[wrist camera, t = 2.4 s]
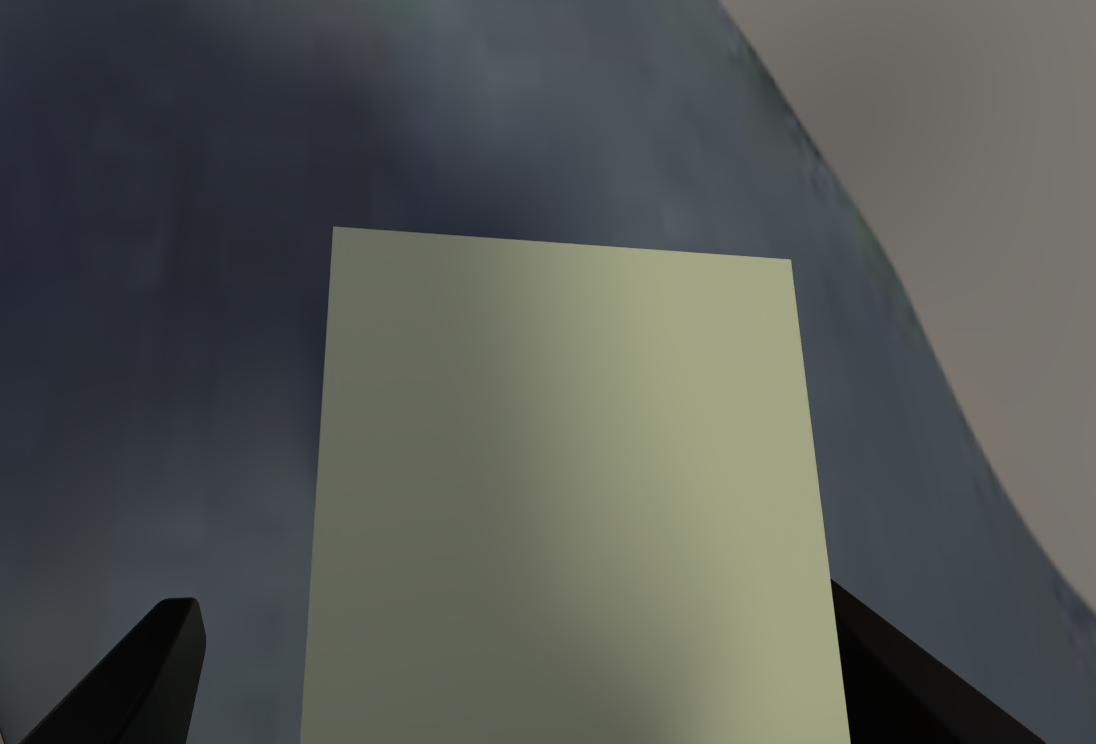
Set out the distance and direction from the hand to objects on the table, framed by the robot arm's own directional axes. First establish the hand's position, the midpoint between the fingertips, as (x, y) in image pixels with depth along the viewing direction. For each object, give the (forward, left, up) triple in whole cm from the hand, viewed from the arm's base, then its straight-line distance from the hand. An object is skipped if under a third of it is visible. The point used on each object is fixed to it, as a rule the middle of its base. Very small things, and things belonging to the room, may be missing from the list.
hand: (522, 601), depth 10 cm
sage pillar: (+1, -1, -9) cm, 9 cm away
